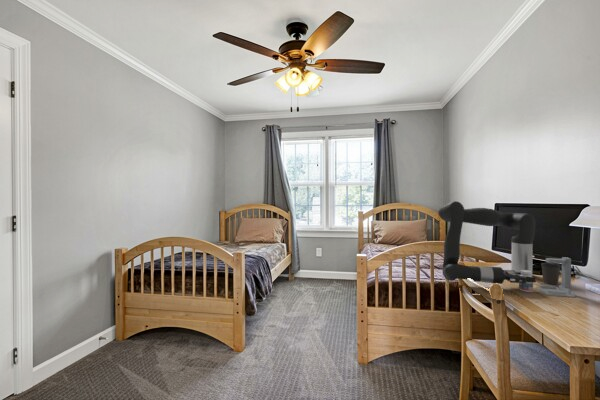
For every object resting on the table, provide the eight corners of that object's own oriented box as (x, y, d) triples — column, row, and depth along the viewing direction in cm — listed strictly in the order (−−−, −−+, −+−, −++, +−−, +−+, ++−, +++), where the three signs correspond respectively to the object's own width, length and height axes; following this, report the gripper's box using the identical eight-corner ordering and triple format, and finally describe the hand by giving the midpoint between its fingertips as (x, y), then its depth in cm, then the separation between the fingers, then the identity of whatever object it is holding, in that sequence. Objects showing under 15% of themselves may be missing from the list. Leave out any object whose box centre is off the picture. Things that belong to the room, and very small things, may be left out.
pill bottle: (518, 287, 142) (518, 268, 142) (532, 289, 139) (532, 270, 139) (519, 291, 137) (519, 271, 137) (534, 292, 134) (534, 272, 134)
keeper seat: (536, 288, 141) (536, 254, 141) (562, 290, 138) (563, 255, 138) (547, 295, 132) (547, 259, 131) (575, 297, 129) (575, 260, 128)
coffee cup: (566, 285, 145) (566, 264, 144) (548, 285, 145) (549, 264, 145) (552, 281, 153) (552, 261, 152) (535, 281, 153) (536, 261, 153)
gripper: (495, 270, 135) (538, 273, 130) (485, 263, 149) (525, 265, 144) (495, 287, 135) (538, 290, 131) (485, 278, 149) (524, 281, 144)
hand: (531, 277), depth 137 cm, fingers open, 7 cm apart
